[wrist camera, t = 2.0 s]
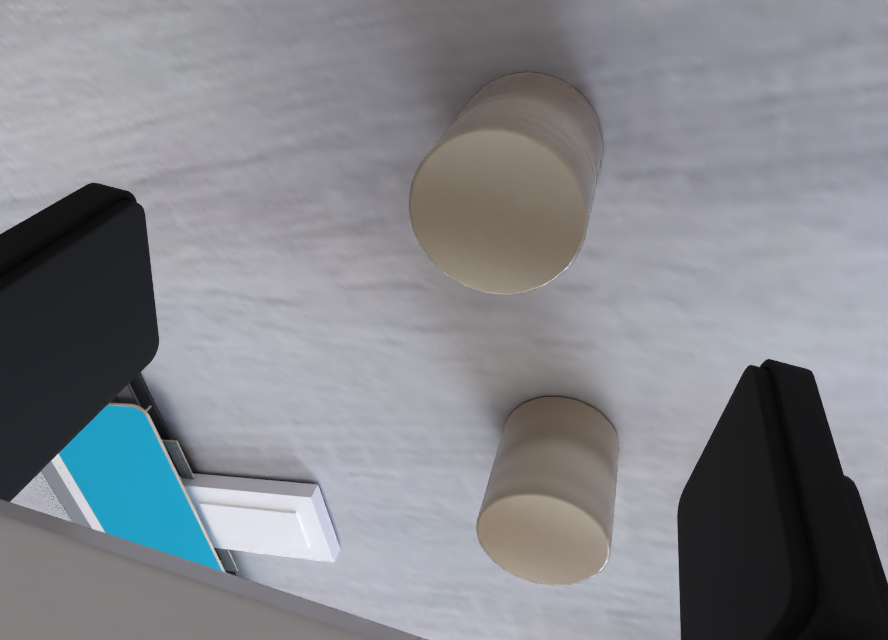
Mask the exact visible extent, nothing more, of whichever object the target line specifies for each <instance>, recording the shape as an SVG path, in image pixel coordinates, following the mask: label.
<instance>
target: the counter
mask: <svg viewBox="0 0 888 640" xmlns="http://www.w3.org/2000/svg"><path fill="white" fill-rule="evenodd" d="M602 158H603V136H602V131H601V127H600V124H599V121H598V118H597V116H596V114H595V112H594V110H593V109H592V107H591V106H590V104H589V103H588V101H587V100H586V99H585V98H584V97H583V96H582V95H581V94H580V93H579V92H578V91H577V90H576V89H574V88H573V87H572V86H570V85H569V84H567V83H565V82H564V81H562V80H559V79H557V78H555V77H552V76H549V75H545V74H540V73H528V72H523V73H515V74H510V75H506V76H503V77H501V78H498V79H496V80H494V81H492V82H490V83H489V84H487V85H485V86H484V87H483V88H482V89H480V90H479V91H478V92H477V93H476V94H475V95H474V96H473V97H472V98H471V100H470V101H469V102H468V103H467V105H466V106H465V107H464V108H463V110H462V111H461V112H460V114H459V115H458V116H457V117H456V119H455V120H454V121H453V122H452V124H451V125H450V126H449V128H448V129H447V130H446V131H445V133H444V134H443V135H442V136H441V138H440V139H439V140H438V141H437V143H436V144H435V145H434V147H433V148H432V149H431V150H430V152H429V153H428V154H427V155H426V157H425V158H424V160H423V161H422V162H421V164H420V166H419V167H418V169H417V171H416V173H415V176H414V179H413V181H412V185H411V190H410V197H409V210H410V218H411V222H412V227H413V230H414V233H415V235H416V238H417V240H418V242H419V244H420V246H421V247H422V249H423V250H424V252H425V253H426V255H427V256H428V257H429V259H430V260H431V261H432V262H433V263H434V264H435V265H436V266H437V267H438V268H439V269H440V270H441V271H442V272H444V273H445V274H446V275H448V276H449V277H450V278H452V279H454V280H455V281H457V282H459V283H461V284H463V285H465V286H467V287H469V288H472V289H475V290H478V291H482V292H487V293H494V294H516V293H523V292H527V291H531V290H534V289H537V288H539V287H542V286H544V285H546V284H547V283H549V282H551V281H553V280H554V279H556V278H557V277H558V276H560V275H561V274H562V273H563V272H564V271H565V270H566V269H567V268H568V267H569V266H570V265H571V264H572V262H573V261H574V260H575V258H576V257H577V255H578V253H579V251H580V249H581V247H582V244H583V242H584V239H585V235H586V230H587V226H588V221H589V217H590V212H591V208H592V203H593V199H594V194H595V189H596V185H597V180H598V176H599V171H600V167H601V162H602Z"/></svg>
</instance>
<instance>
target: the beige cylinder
mask: <svg viewBox="0 0 888 640" xmlns="http://www.w3.org/2000/svg"><path fill="white" fill-rule="evenodd" d="M618 459H619V440H618V436H617V434H616V431H615V429H614V428H613V426H612V425H611V423H610V422H609V421H608V420H607V418H606V417H604V416H603V415H602V414H601V413H600V412H599V411H597V410H596V409H594V408H592V407H591V406H589V405H587V404H585V403H583V402H580V401H577V400H574V399H569V398H564V397H542V398H537V399H534V400H530V401H528V402H526V403H524V404H522V405H520V406H519V407H518V408H516V409H515V410H514V411H513V412H512V413H511V414H510V416H509V417H508V419H507V420H506V423H505V426H504V429H503V432H502V436H501V439H500V443H499V446H498V450H497V453H496V457H495V460H494V464H493V467H492V471H491V474H490V478H489V481H488V485H487V488H486V492H485V495H484V499H483V502H482V506H481V509H480V512H479V516H478V519H477V525H476V527H477V535H478V539H479V542H480V544H481V546H482V548H483V550H484V551H485V552H486V554H487V555H488V556H489V557H490V558H491V559H492V560H493V561H494V562H495V563H496V564H497V565H499V566H500V567H502V568H503V569H504V570H506V571H508V572H510V573H511V574H513V575H515V576H518V577H520V578H523V579H525V580H528V581H532V582H535V583H540V584H546V585H571V584H576V583H580V582H584V581H586V580H588V579H590V578H592V577H594V576H596V575H597V574H598V573H599V572H600V571H601V570H602V569H603V568H604V567H605V565H606V564H607V562H608V560H609V557H610V551H611V540H612V529H613V517H614V506H615V494H616V482H617V471H618Z"/></svg>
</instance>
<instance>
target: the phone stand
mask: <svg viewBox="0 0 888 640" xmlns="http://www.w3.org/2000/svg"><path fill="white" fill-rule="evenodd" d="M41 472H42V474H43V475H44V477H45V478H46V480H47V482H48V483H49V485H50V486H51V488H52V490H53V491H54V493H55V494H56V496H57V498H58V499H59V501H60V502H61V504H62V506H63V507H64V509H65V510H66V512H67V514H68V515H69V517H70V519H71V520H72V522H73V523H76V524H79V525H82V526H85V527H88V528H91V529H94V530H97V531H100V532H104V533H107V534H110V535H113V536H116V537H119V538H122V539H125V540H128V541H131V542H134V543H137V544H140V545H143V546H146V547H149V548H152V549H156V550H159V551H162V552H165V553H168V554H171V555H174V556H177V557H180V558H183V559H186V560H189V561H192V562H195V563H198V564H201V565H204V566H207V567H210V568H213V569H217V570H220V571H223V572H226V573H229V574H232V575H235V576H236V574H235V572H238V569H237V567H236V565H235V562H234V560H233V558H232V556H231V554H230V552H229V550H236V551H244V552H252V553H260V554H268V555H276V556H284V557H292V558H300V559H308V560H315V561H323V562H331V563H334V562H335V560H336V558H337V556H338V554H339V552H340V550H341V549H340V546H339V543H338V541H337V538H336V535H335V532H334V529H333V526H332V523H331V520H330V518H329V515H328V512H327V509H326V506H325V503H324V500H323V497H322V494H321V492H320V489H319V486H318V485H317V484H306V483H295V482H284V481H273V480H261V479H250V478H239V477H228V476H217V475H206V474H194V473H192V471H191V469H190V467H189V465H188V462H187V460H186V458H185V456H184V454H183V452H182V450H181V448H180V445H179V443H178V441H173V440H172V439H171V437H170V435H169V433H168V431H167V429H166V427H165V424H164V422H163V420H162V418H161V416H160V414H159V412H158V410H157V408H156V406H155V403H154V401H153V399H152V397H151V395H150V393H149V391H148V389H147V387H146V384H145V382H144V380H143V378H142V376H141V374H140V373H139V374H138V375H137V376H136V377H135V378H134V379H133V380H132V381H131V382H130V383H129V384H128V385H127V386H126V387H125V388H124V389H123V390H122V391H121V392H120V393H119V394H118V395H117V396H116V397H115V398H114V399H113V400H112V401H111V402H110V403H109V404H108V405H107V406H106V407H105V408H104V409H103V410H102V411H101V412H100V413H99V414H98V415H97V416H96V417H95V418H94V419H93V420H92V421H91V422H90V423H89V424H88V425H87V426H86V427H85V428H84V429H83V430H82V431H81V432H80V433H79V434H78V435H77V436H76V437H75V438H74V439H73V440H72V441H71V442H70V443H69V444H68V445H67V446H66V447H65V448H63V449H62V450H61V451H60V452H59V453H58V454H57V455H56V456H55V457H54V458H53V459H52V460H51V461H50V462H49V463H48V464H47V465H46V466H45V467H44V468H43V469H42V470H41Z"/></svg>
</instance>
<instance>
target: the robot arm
mask: <svg viewBox="0 0 888 640" xmlns="http://www.w3.org/2000/svg"><path fill="white" fill-rule="evenodd" d="M158 345H159V335H158V326H157V317H156V308H155V299H154V290H153V282H152V273H151V264H150V255H149V246H148V237H147V228H146V219H145V213H144V209H143V207H142V206H141V205H140V204H138V203H137V201H136V199H135V197H134V195H133V194H132V193H130V192H129V191H125V190H121V189H117V188H114V187H110V186H106V185H102V184H98V183H91V184H88V185H86V186H84V187H82V188H80V189H79V190H77V191H75V192H73V193H72V194H70V195H68V196H66V197H65V198H63V199H61V200H59V201H58V202H56V203H54V204H52V205H51V206H49V207H47V208H45V209H44V210H42V211H40V212H38V213H37V214H35V215H33V216H31V217H30V218H28V219H26V220H25V221H23V222H21V223H19V224H18V225H16V226H14V227H12V228H11V229H9V230H7V231H5V232H4V233H2V234H0V640H427V639H424V638H421V637H418V636H415V635H412V634H409V633H406V632H403V631H401V630H398V629H395V628H392V627H389V626H386V625H383V624H380V623H377V622H374V621H371V620H368V619H365V618H362V617H359V616H356V615H353V614H350V613H347V612H344V611H341V610H338V609H335V608H332V607H329V606H326V605H323V604H320V603H317V602H314V601H311V600H308V599H304V598H301V597H298V596H295V595H292V594H289V593H286V592H283V591H280V590H277V589H274V588H271V587H268V586H265V585H262V584H259V583H256V582H253V581H250V580H247V579H244V578H241V577H238V576H235V575H232V574H229V573H226V572H223V571H220V570H217V569H213V568H210V567H207V566H204V565H201V564H198V563H195V562H192V561H189V560H186V559H183V558H180V557H177V556H174V555H171V554H168V553H165V552H162V551H159V550H156V549H152V548H149V547H146V546H143V545H140V544H137V543H134V542H131V541H128V540H125V539H122V538H119V537H116V536H113V535H110V534H107V533H104V532H100V531H97V530H94V529H91V528H88V527H85V526H82V525H79V524H76V523H73V522H69V521H66V520H63V519H60V518H57V517H54V516H51V515H48V514H45V513H42V512H39V511H35V510H32V509H29V508H26V507H23V506H20V505H17V504H14V503H11V502H10V501H11V500H12V499H13V498H14V497H15V496H16V495H17V494H18V493H19V492H20V491H21V490H22V489H23V488H24V487H25V486H26V485H27V484H28V483H29V482H30V481H31V480H32V479H33V478H34V477H35V476H36V475H37V474H38V473H39V472H40V471H41V470H42V469H43V468H44V467H45V466H46V465H47V464H48V463H49V462H50V461H51V460H52V459H53V458H54V457H55V456H56V455H57V454H58V453H59V452H60V451H61V450H62V449H63V448H65V447H66V446H67V445H68V444H69V443H70V442H71V441H72V440H73V439H74V438H75V437H76V436H77V435H78V434H79V433H80V432H81V431H82V430H83V429H84V428H85V427H86V426H87V425H88V424H89V423H90V422H91V421H92V420H93V419H94V418H95V417H96V416H97V415H98V414H99V413H100V412H101V411H102V410H103V409H104V408H105V407H106V406H107V405H108V404H109V403H110V402H111V401H112V400H113V399H114V398H115V397H116V396H117V395H118V394H119V393H120V392H121V391H122V390H123V389H124V388H125V387H126V386H127V385H128V384H129V383H130V382H131V381H132V380H133V379H134V378H135V377H136V376H137V375H138V374H139V373H140V372H141V371H142V370H143V369H144V368H145V367H146V366H147V365H148V364H149V363H150V362H151V361H152V360H153V358H154V356H155V355H156V352H157V349H158ZM677 518H678V552H679V586H680V620H681V640H888V583H887V580H886V577H885V574H884V571H883V567H882V564H881V561H880V558H879V555H878V552H877V548H876V545H875V542H874V539H873V536H872V533H871V529H870V526H869V523H868V520H867V517H866V514H865V511H864V507H863V504H862V501H861V498H860V495H859V492H858V489H857V487H856V485H855V483H854V481H852V480H851V479H850V478H849V477H847V476H844V474H843V471H842V468H841V464H840V461H839V458H838V454H837V451H836V448H835V444H834V441H833V438H832V434H831V431H830V428H829V424H828V421H827V418H826V414H825V411H824V408H823V404H822V401H821V398H820V394H819V391H818V388H817V384H816V381H815V378H814V375H813V373H812V371H810V370H808V369H805V368H801V367H797V366H793V365H790V364H786V363H782V362H778V361H774V360H771V359H768V360H765V361H764V362H763V363H762V364H761V366H760V367H757V366H753V365H750V366H748V367H747V368H746V369H745V371H744V373H743V374H742V376H741V378H740V380H739V382H738V384H737V386H736V388H735V390H734V392H733V394H732V396H731V398H730V400H729V402H728V404H727V406H726V408H725V410H724V412H723V414H722V415H721V417H720V419H719V421H718V423H717V425H716V427H715V429H714V431H713V433H712V435H711V437H710V439H709V441H708V443H707V445H706V447H705V449H704V451H703V453H702V455H701V457H700V459H699V460H698V462H697V464H696V466H695V468H694V470H693V472H692V474H691V476H690V478H689V480H688V482H687V484H686V486H685V488H684V490H683V492H682V495H681V498H680V501H679V506H678V516H677Z"/></svg>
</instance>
